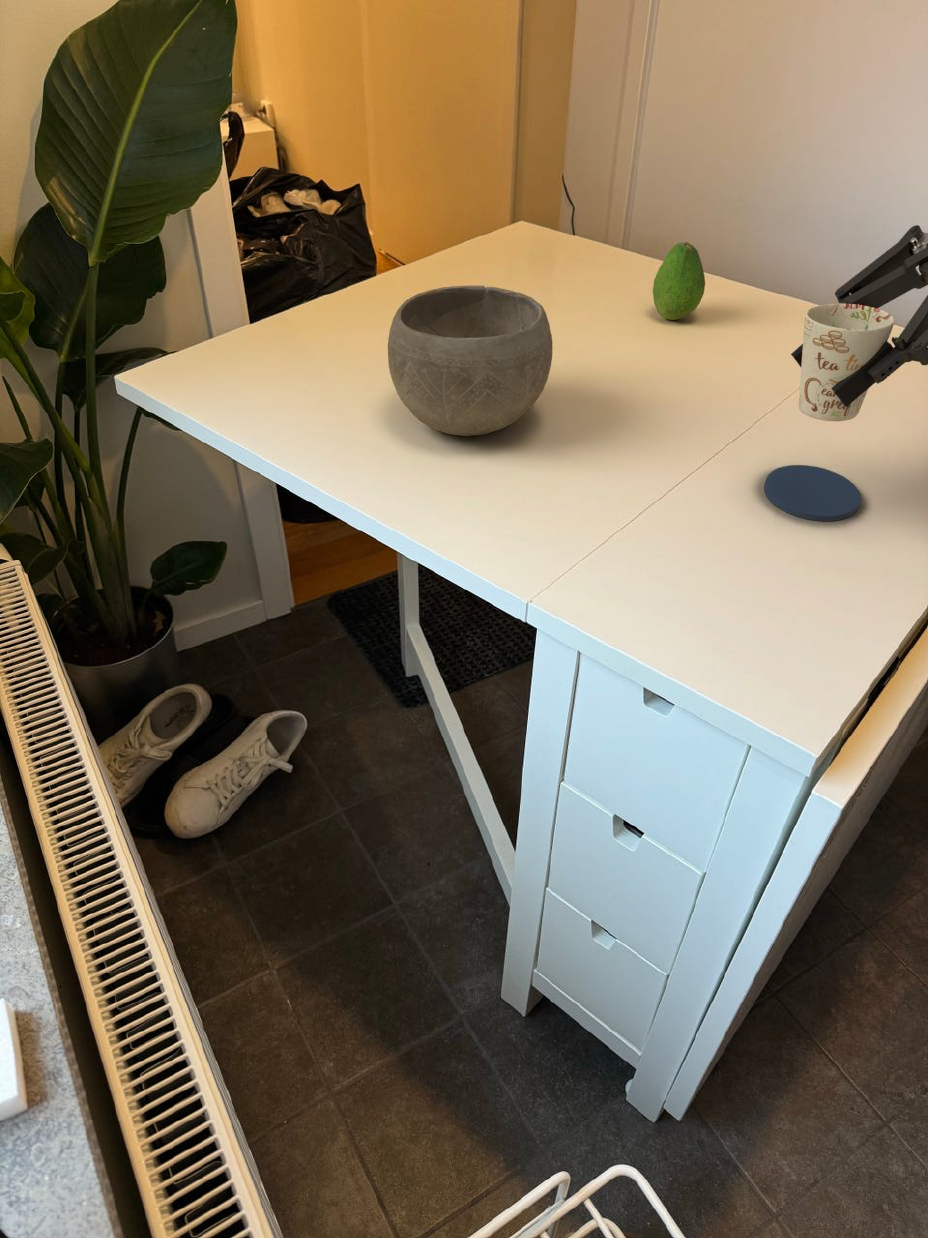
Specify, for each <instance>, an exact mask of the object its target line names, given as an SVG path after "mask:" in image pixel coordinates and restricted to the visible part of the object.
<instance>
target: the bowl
mask: <svg viewBox="0 0 928 1238" xmlns="http://www.w3.org/2000/svg"><path fill="white" fill-rule="evenodd" d="M387 361H388V370H389V374H390V378H391V382H392V384H393V386H394V388H395V389H394V390H395V391H396V394H397V396H398V397H399V399H400V400H401V402H402V403H403V405H404V406H405V407H406V408H407V409H408V411H409V413H410V414H412V415H413V416H414V417H415V418H416V420H418V421H420V422H422V424H424V425H425V426H427V427H429V428H431V429H433V430H436V431H438V432H441V433H444V434H447V435H452V436H453V435H454V436H461V437H462V436H463V437H471V436H482V435H487V434H490V433H493V432H496V431H499V430H502V429H504V428H507V427H508V426H510V425H511V424H513V423H515V422H516V421H517V420H519V419H520V418H521V417H523V416H524V415H525V414H526V413H527V412H528V410H530V409H531V408H532V407H533V406H534V404H535V403H536V402H537V400H538V399H539V398H540V396H541V395H542V393H543V391H544V389H545V387H546V384H547V382H548V379H549V375H550V371H551V368H552V362H553V336H552V332H551V326H550V322H549V319H548V316H547V313H546V310H545V308H544V306H543V305H541V304H540V303H539V302H538V301H537V300H535V299H534V298H533V297H532V296H529V295H526V294H524V293H522V292H517V291H514V290H511V289H510V290H509V289H506V288H502V287H495V286H485V285H452V286H443V287H440V288H439V287H438V288H434V289H429V290H426V291H422V292H420V293H417V294H415V295H413V296H411V297H410V298H408V299H406V300H405V301H404V302H403V303H402V304H401V305H400V306H399V308H398V309H397V310H396V312H395V314H394V316H393V317H392V321H391V325H390V327H389V334H388V337H387Z"/></svg>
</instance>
